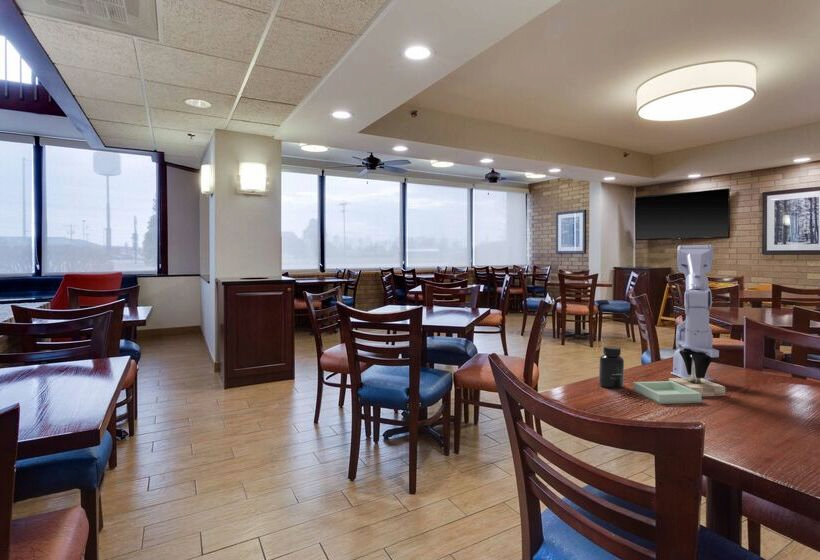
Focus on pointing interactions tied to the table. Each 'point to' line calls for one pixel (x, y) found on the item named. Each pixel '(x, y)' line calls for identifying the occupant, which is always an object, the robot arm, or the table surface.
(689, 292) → the robot arm
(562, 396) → the table surface
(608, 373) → the supplement bottle
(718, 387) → the birch block
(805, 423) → the table surface
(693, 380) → the steel pin
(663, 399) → the green tray
